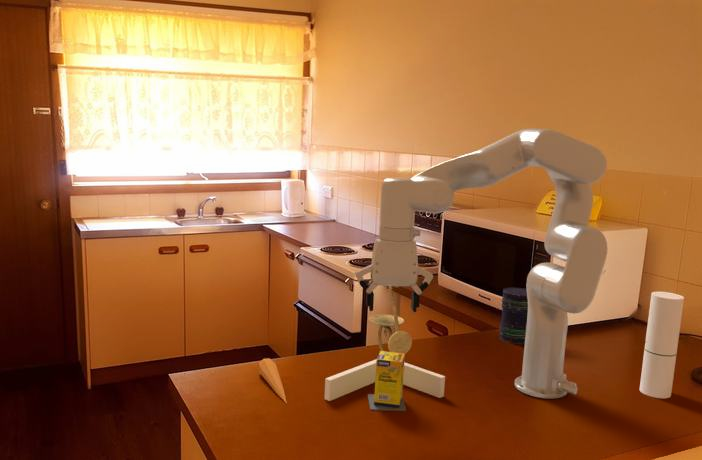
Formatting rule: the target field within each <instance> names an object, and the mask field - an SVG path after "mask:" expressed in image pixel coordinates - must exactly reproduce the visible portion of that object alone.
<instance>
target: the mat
mask: <svg viewBox="0 0 702 460" xmlns="http://www.w3.org/2000/svg"><path fill="white" fill-rule="evenodd" d="M374 395H375V393H373V394H372V393H367V400H368V405H369V410H370V411H378V412H379V411H381V412H383V411H384V412H385V411H386V412H387V411H388V412H389V411H390V412H393V411H394V412H395V411H396V412H407V408H406V404H405V402H404V399H403V397H402V399H401V402H400V407H399V408H395V407H387V406H378V405H374Z"/></svg>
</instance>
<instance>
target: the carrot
mask: <svg viewBox="0 0 702 460" xmlns="http://www.w3.org/2000/svg"><path fill="white" fill-rule="evenodd" d="M258 373H259V374H260V375H261V376H262V377H263V379H264V380H265V381H266V383H268V384H269V386H270V387H271V388H272V390H273V391H274V392H275V393H276V395H278V397H279V398H281V399H282V401H283V402H284V403H285V404H286V405H287V404H288V403H287V399H286V397H287V396H286V394H285V389H284V386H283V383H282V379H281V376H280V373H279V370H278V367H277V365H276V362H275V361H273V360H272V359H271V358H263V359H262V360H261V361H260V362H258Z"/></svg>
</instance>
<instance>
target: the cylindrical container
mask: <svg viewBox="0 0 702 460" xmlns="http://www.w3.org/2000/svg"><path fill="white" fill-rule="evenodd" d="M684 300H685V297H684V296H683V295H680V294H677V293H675V292H674V293H673V292H668V291H653V292H652V291H651V295H650V303H649V311H648V320H647V326H646V334H645V343H644V350H643V357H642V358H643V359H642V366H641V367H642V368H641V376H640V384H639V391H640V393H642V394H643V395H646V396H648V397H651V398H654V399H655V398H656V399H668V398H671V396H672V390H673V383H674V382H673V381H674V375H675V367H676V361H677V360H676V359H677V354H678V353H677V352H678V345H679V338H680V331H681V324H682V316H683V308H684Z"/></svg>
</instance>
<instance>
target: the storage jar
mask: <svg viewBox="0 0 702 460" xmlns="http://www.w3.org/2000/svg"><path fill="white" fill-rule="evenodd" d="M501 308H502V311H501V318H500V323H499V335H498V337H499V339H500V340H501V341H503V342H506V343H508V344H515V345H525V336H526V326H527V315H528V299H527V288H523V287H504V288H503V290H502V298H501Z"/></svg>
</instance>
